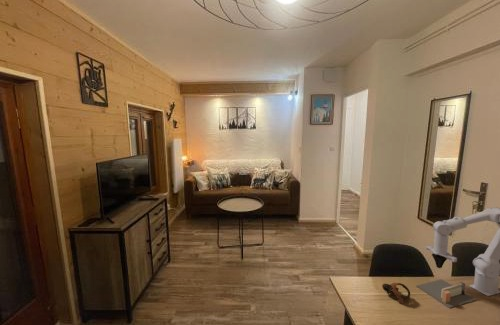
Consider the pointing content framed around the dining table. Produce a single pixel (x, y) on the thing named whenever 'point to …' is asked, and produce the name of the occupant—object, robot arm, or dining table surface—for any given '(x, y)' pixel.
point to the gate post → (463, 288)
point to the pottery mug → (396, 291)
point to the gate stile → (446, 296)
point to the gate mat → (436, 289)
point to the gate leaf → (453, 290)
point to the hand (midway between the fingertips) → (439, 267)
